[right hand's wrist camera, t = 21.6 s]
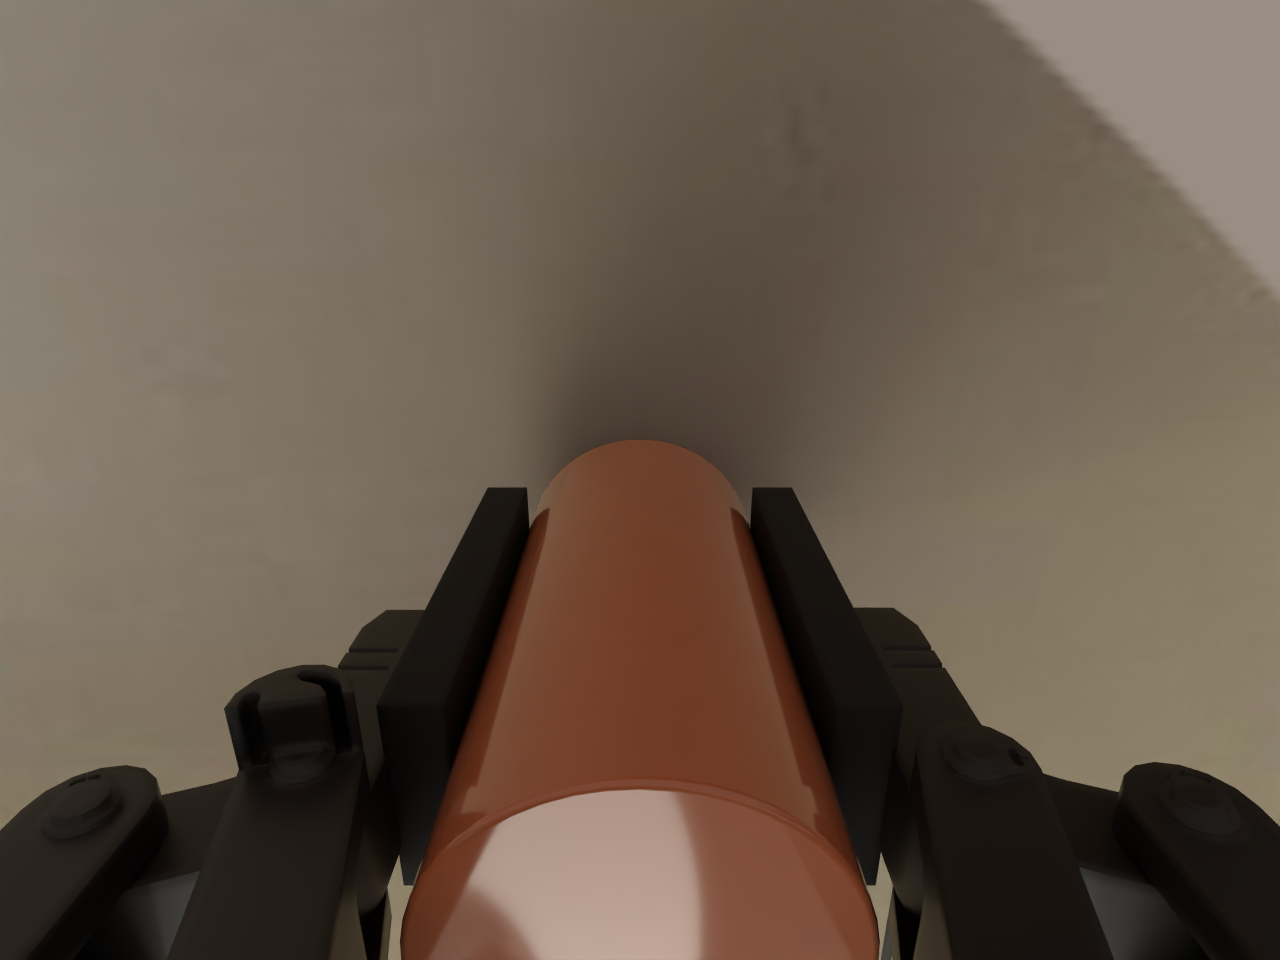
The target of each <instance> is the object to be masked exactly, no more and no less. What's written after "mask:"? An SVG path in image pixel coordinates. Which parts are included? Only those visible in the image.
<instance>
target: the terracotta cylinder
mask: <svg viewBox="0 0 1280 960" xmlns="http://www.w3.org/2000/svg"><path fill="white" fill-rule="evenodd" d="M879 946H880V939H879V931H878V922H877V917H876V914H875V911H874V907H873V904H872V901H871V898H870V895H869V892H868V889H867V886H866V882H865V879H864V876H863V873H862V870H861V867H860V864H859V861H858V858H857V855H856V852H855V849H854V846H853V843H852V840H851V837H850V834H849V830H848V827H847V824H846V821H845V818H844V815H843V812H842V809H841V806H840V803H839V800H838V797H837V794H836V791H835V788H834V785H833V782H832V778H831V775H830V772H829V769H828V766H827V763H826V760H825V757H824V754H823V751H822V748H821V745H820V742H819V739H818V736H817V733H816V729H815V726H814V723H813V720H812V717H811V714H810V711H809V708H808V705H807V702H806V699H805V696H804V693H803V690H802V687H801V684H800V681H799V677H798V674H797V671H796V668H795V665H794V662H793V659H792V656H791V653H790V650H789V647H788V644H787V641H786V638H785V635H784V632H783V629H782V625H781V622H780V619H779V616H778V613H777V610H776V607H775V604H774V601H773V598H772V595H771V592H770V589H769V586H768V583H767V580H766V576H765V573H764V570H763V567H762V564H761V561H760V558H759V555H758V552H757V549H756V546H755V543H754V540H753V537H752V534H751V531H750V528H749V524H748V521H747V518H746V515H745V512H744V509H743V506H742V503H741V501H740V499H739V497H738V495H737V493H736V491H735V490H734V488H733V487H732V485H731V484H730V482H729V481H728V480H727V479H726V478H725V476H724V475H723V474H722V473H721V472H720V471H719V470H718V469H717V468H716V467H714V466H713V465H712V464H711V463H710V462H708V461H707V460H705V459H704V458H702V457H701V456H699V455H698V454H696V453H694V452H692V451H689V450H687V449H685V448H683V447H680V446H677V445H674V444H671V443H666V442H661V441H656V440H642V439H638V440H624V441H619V442H614V443H609V444H606V445H603V446H600V447H597V448H595V449H592V450H590V451H588V452H586V453H584V454H582V455H581V456H579V457H578V458H576V459H574V460H573V461H571V462H570V463H569V464H568V465H567V466H565V467H564V468H563V469H562V470H561V471H560V472H559V473H558V474H557V475H556V476H555V477H554V479H553V480H552V481H551V482H550V484H549V485H548V487H547V488H546V490H545V491H544V493H543V495H542V497H541V499H540V501H539V503H538V506H537V509H536V512H535V515H534V518H533V521H532V524H531V527H530V530H529V533H528V536H527V539H526V542H525V545H524V548H523V552H522V555H521V558H520V561H519V564H518V567H517V570H516V573H515V576H514V579H513V582H512V585H511V588H510V591H509V594H508V597H507V600H506V604H505V607H504V610H503V613H502V616H501V619H500V622H499V625H498V628H497V631H496V634H495V637H494V640H493V643H492V646H491V649H490V652H489V655H488V659H487V662H486V665H485V668H484V671H483V674H482V677H481V680H480V683H479V686H478V689H477V692H476V695H475V698H474V701H473V704H472V707H471V711H470V714H469V717H468V720H467V723H466V726H465V729H464V732H463V735H462V738H461V741H460V744H459V747H458V750H457V753H456V756H455V759H454V763H453V766H452V769H451V772H450V775H449V778H448V781H447V784H446V787H445V790H444V793H443V796H442V799H441V802H440V805H439V808H438V811H437V815H436V818H435V821H434V824H433V827H432V830H431V833H430V836H429V839H428V842H427V845H426V848H425V851H424V854H423V857H422V860H421V863H420V867H419V870H418V873H417V876H416V879H415V882H414V885H413V888H412V891H411V894H410V897H409V900H408V904H407V907H406V910H405V913H404V916H403V920H402V929H401V937H400V949H401V960H878V959H879Z"/></svg>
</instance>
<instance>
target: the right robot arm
mask: <svg viewBox="0 0 1280 960" xmlns="http://www.w3.org/2000/svg"><path fill="white" fill-rule="evenodd" d="M750 531H751V534H752V537H753V540H754V543H755V546H756V549H757V552H758V555H759V558H760V561H761V564H762V567H763V570H764V573H765V576H766V580H767V583H768V586H769V589H770V592H771V595H772V598H773V601H774V604H775V607H776V610H777V613H778V616H779V619H780V622H781V625H782V629H783V632H784V635H785V638H786V641H787V644H788V647H789V650H790V653H791V656H792V659H793V662H794V665H795V668H796V671H797V674H798V677H799V681H800V684H801V687H802V690H803V693H804V696H805V699H806V702H807V705H808V708H809V711H810V714H811V717H812V720H813V723H814V726H815V729H816V733H817V736H818V739H819V742H820V745H821V748H822V751H823V754H824V757H825V760H826V763H827V766H828V769H829V772H830V775H831V778H832V782H833V785H834V788H835V791H836V794H837V797H838V800H839V803H840V806H841V809H842V812H843V815H844V818H845V821H846V824H847V827H848V830H849V834H850V837H851V840H852V843H853V846H854V849H855V852H856V855H857V858H858V861H859V864H860V867H861V870H862V873H863V876H864V879H865V882H866V885H876V879H877V873H878V866H879V860H880V853H882V856H883V859H884V861H885V864H886V867H887V869H888V872H889V875H890V878H891V880H892V883H893V890H892V896H891V902H890V908H889V914H888V920H887V925H886V931H885V937H884V943H883V950H882V957H881V960H891V958H892V959H893V960H1280V826H1279V825H1278V824H1277V823H1276V822H1275V821H1274V820H1273V819H1271V818H1270V817H1269V816H1268V815H1267V814H1266V813H1265V812H1264V811H1263V810H1262V809H1261V808H1260V807H1259V806H1258V805H1257V804H1255V803H1254V802H1253V801H1251V800H1250V799H1249V798H1247V797H1246V796H1245V795H1244V794H1242V793H1241V792H1240V791H1238V790H1237V789H1236V788H1234V787H1232V786H1230V785H1228V784H1226V783H1224V782H1222V781H1220V780H1219V779H1217V778H1215V777H1213V776H1211V775H1209V774H1206V773H1203V772H1200V771H1198V770H1194V769H1191V768H1188V767H1185V766H1181V765H1176V764H1167V763H1159V762H1152V763H1146V764H1141V765H1135V766H1134V767H1133V768H1132V769H1131V770H1129V771H1128V772H1127V773H1126V774H1125V775H1124V777H1123V780H1122V784H1121V787H1120V790H1119V792H1115V791H1111V790H1107V789H1102V788H1098V787H1093V786H1089V785H1084V784H1080V783H1075V782H1071V781H1067V780H1063V779H1060V778H1056V777H1053V776H1049V775H1046V774H1044V773H1042V770H1041V768H1040V767H1039V765H1038V764H1037V762H1036V760H1035V759H1034V757H1033V756H1032V754H1031V753H1030V752H1029V751H1028V750H1026V749H1025V748H1024V747H1023V746H1021V745H1020V744H1019V743H1018V742H1016V741H1015V740H1014V739H1013V738H1011V737H1009V736H1007V735H1005V734H1003V733H1001V732H999V731H996V730H994V729H992V728H990V727H986V726H982V725H981V724H980V722H979V720H978V719H977V717H976V716H975V714H974V713H973V711H972V710H971V708H970V706H969V705H968V703H967V702H966V700H965V699H964V697H963V695H962V694H961V692H960V691H959V689H958V688H957V686H956V685H955V683H954V681H953V680H952V678H951V677H950V675H949V674H948V672H947V670H946V669H945V668H942V663H941V661H940V660H939V658H938V656H937V655H936V653H935V652H934V650H931V646H930V644H929V642H928V641H927V639H926V638H925V636H924V635H923V633H922V631H921V630H920V628H919V627H918V625H916V624H915V623H914V622H912V621H911V620H909V619H908V618H907V617H905V616H904V615H903V614H901V613H900V612H898V611H897V610H896V609H894V608H853V606H852V604H851V602H850V600H849V598H848V596H847V595H846V593H845V591H844V589H843V587H842V585H841V583H840V581H839V579H838V577H837V575H836V573H835V571H834V569H833V567H832V565H831V563H830V561H829V559H828V557H827V556H826V554H825V552H824V550H823V548H822V546H821V544H820V542H819V540H818V538H817V536H816V534H815V532H814V530H813V528H812V526H811V524H810V522H809V520H808V519H807V517H806V515H805V513H804V511H803V509H802V507H801V505H800V503H799V501H798V499H797V497H796V495H795V493H794V491H793V489H792V488H753V489H752V506H751V523H750ZM528 533H529V514H528V497H527V488H487V490H486V492H485V494H484V496H483V498H482V500H481V502H480V504H479V506H478V508H477V510H476V512H475V514H474V516H473V518H472V520H471V522H470V523H469V525H468V527H467V529H466V531H465V533H464V535H463V537H462V539H461V541H460V543H459V545H458V547H457V549H456V551H455V553H454V555H453V557H452V559H451V560H450V562H449V564H448V566H447V568H446V570H445V572H444V574H443V576H442V578H441V580H440V582H439V584H438V586H437V588H436V590H435V592H434V594H433V596H432V598H431V599H430V601H429V603H428V605H427V607H426V609H425V610H386V611H385V612H383V613H382V614H381V615H379V616H378V617H376V618H375V619H374V620H372V621H371V622H370V623H368V624H367V625H365V626H364V627H363V628H362V629H361V631H360V632H359V634H358V635H357V637H356V638H355V640H354V642H353V643H352V645H351V646H350V648H349V653H346V654H345V656H344V657H343V659H342V660H341V662H340V664H339V665H338V668H334V667H331V666H327V665H300V666H296V667H291V668H287V669H282V670H278V671H275V672H273V673H271V674H268V675H266V676H264V677H261V678H259V679H257V680H254V681H253V682H252V683H250V684H249V685H247V686H246V687H244V688H243V689H242V690H240V691H239V692H237V693H236V694H235V695H234V697H233V698H232V699H231V700H230V702H229V703H228V704H227V706H226V707H225V708H224V710H225V714H226V718H227V722H228V726H229V731H230V735H231V739H232V743H233V747H234V751H235V755H236V759H237V763H238V767H239V771H238V774H237V777H234V778H231V779H227V780H224V781H220V782H217V783H213V784H209V785H205V786H200V787H196V788H191V789H187V790H183V791H178V792H174V793H169V794H165V795H161V792H160V789H159V786H158V782H157V779H156V778H155V777H154V776H153V775H152V774H151V773H150V772H149V771H147V770H146V769H144V768H139V767H133V766H128V765H124V766H115V767H106V768H100V769H97V770H93V771H90V772H87V773H84V774H81V775H78V776H75V777H72V778H70V779H68V780H66V781H64V782H63V783H61V784H59V785H57V786H55V787H53V788H51V789H49V790H47V791H45V792H44V793H43V794H41V795H40V796H39V797H37V798H36V799H35V800H34V801H32V802H31V803H30V804H28V805H27V806H26V807H25V808H23V809H22V810H21V811H20V812H19V813H18V814H17V815H16V816H15V817H14V818H13V819H12V820H11V821H10V822H9V823H8V824H7V825H6V826H5V827H4V828H2V829H1V830H0V960H388V950H389V940H390V929H391V919H392V916H391V909H390V902H389V896H388V890H387V886H388V883H389V880H390V877H391V875H392V872H393V869H394V866H395V864H396V861H397V858H398V855H399V856H400V863H401V869H402V876H403V882H404V885H414V882H415V879H416V876H417V873H418V870H419V867H420V863H421V860H422V857H423V854H424V851H425V848H426V845H427V842H428V839H429V836H430V833H431V830H432V827H433V824H434V821H435V818H436V815H437V811H438V808H439V805H440V802H441V799H442V796H443V793H444V790H445V787H446V784H447V781H448V778H449V775H450V772H451V769H452V766H453V763H454V759H455V756H456V753H457V750H458V747H459V744H460V741H461V738H462V735H463V732H464V729H465V726H466V723H467V720H468V717H469V714H470V711H471V707H472V704H473V701H474V698H475V695H476V692H477V689H478V686H479V683H480V680H481V677H482V674H483V671H484V668H485V665H486V662H487V659H488V655H489V652H490V649H491V646H492V643H493V640H494V637H495V634H496V631H497V628H498V625H499V622H500V619H501V616H502V613H503V610H504V607H505V604H506V600H507V597H508V594H509V591H510V588H511V585H512V582H513V579H514V576H515V573H516V570H517V567H518V564H519V561H520V558H521V555H522V552H523V548H524V545H525V542H526V539H527V536H528Z"/></svg>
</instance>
